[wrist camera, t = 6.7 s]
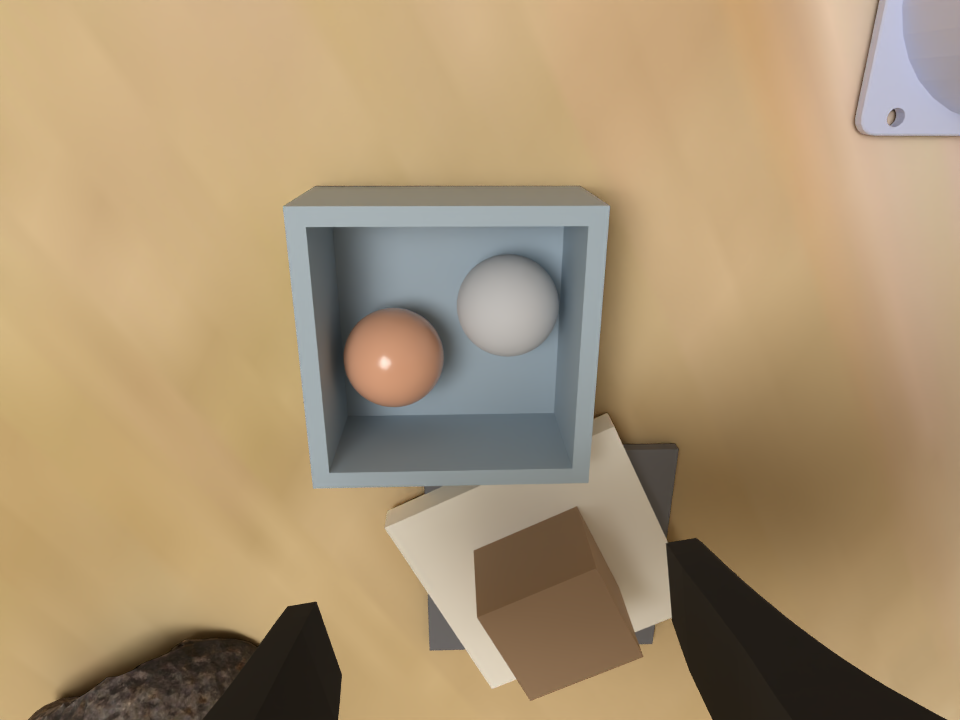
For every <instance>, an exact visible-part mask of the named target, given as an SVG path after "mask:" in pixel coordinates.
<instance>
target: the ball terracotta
mask: <svg viewBox="0 0 960 720" xmlns="http://www.w3.org/2000/svg"><path fill="white" fill-rule="evenodd" d="M343 360H344V367H345V371H346V375H347V377H348V379H349V381H350V383H351V384H352V386H353V387H354V389H355V390H356V391H357V392H358V393H359V394H360V395H361V396H363V397H364V398H365V399H367V400H369V401H370V402H372V403H375V404H377V405H381V406H385V407H402V406H407V405H410V404H413V403H415V402H417V401H419V400H421V399H422V398H424V397H425V396H426V395H427V394H428V393H429V392H430V391H431V390H432V389H433V388H434V386H435V385H436V384H437V382H438V380H439V378H440V376H441V373H442V369H443V364H444V351H443V346H442V342H441V339H440V337H439V335H438V333H437V331H436V330H435V329H434V327H433V326H432V325H431V324H430V323H429V322H428V321H427V320H426V319H425V318H424V317H422V316H421V315H419V314H417V313H415V312H413V311H410V310H407V309H402V308H385V309H380V310H377V311H374V312H372V313H370V314H368V315H367V316H365V317H364V318H362V319H361V320H360V321H359V322H358V323H357V324H356V325H355V326H354V328H353V329H352V331H351V332H350V334H349V336H348V338H347V340H346V344H345V347H344V354H343Z"/></svg>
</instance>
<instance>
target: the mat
mask: <svg viewBox="0 0 960 720" xmlns="http://www.w3.org/2000/svg"><path fill="white" fill-rule="evenodd" d="M623 447H624V449H625V451H626V453H627V455H628V457H629V459H630V462H631V464H632V466H633V468H634V470H635V472H636V475H637V477H638V479H639V481H640V483H641V485H642V488H643V490H644V492H645V494H646V496H647V498H648V500H649V503H650V505H651V507H652V509H653V511H654V513H655V516H656V518H657V520H658V522H659V524H660V526H661V529H662V531H663V533H664V535H665V537H666V539H667V532H668V524H669V517H670V510H671V502H672V495H673V487H674V480H675V473H676V465H677V458H678V451H679V449H678V447H677V446H676V444H623ZM440 487H442V486H424V489H425V494H426V493H429V492H431V491H433V490H435V489H438V488H440ZM428 613H429V644H430V650H463V649H465V648H464V646H463V645H462V643H461V642H460V640H459V639H458V637H457V636H456V634H455V633H454V631H453V630H452V628H451V627H450V625H449V624H448V622H447V621H446V619H445V618H444V616H443V615H442V613H441V612H440V610H439V609H438V607H437V606H436V604H435V603H434V601H433V600H432V598H431V597H430V595H429V594H428ZM654 627H655V625H652V626H650V627H647V628H645V629H642V630H640V631H637V632H635V635H636V638H637V640H638V643H639V644H652V642H653V635H654Z"/></svg>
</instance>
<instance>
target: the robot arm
mask: <svg viewBox="0 0 960 720" xmlns="http://www.w3.org/2000/svg"><path fill="white" fill-rule="evenodd" d="M893 109H894V110H895V111H896V119H895V121H894V122H893V123H892V124H891V125H890V126H889V125H888V123H887V116H888V114H889V112H890V111H891V110H893ZM855 125H856V127H857V130H858V131H859V132H861V133H862V134H865V135H873V136H960V0H879V5H878V10H877V15H876V19H875V24H874V29H873V34H872V39H871V44H870V48H869V53H868V58H867V63H866V68H865V73H864V78H863V82H862V87H861V92H860V97H859V102H858V107H857V111H856V116H855ZM666 552H667V564H668V577H669V589H670V602H671V614H672V622H673V625H674V628H675V631H676V634H677V637H678V640H679V643H680V646H681V649H682V651H683V654H684V657H685V660H686V663H687V665H688V668H689V671H690V673H691V675H692V677H693V679H694V682H695V684H696V686H697V688H698V690H699V692H700V694H701V696H702V698H703V701H704V703H705V705H706V707H707V709H708V711H709V713H710V715H711V717H712V720H947V719H945V718H943V717H941V716H939V715H937V714H935V713H933V712H932V711H930V710H928V709H926V708H924V707H923V706H921V705H919V704H917V703H915V702H914V701H912V700H910V699H908V698H906V697H905V696H903V695H901V694H899V693H897V692H895V691H894V690H892V689H890V688H888V687H887V686H885V685H883V684H882V683H880V682H878V681H877V680H875V679H874V678H872V677H870V676H869V675H867V674H866V673H864V672H862V671H861V670H859V669H858V668H856V667H855V666H853V665H852V664H850V663H849V662H847V661H846V660H844V659H843V658H841V657H840V656H838V655H837V654H835V653H834V652H832V651H831V650H830V649H828V648H827V647H825V646H824V645H823V644H821V643H820V642H818V641H817V640H816V639H814V638H813V637H812V636H810V635H809V634H808V633H806V632H805V631H804V630H802V629H801V628H800V627H798V626H797V625H796V624H794V623H793V622H792V621H791V620H789V619H788V618H787V617H786V616H784V615H783V614H782V613H781V612H779V611H778V610H777V609H776V608H775V607H773V606H772V605H771V604H770V603H769V602H767V601H766V600H765V599H764V598H763V597H761V596H760V595H759V594H758V593H757V592H755V591H754V590H753V589H752V588H751V587H750V586H748V585H747V584H746V583H745V582H744V581H743V580H742V579H741V578H739V577H738V576H737V575H736V574H735V573H734V572H733V571H732V570H731V569H729V568H728V567H727V566H726V565H725V564H724V563H723V562H722V561H721V560H720V559H719V558H718V557H717V556H716V555H715V554H714V553H712V552H711V551H710V550H709V549H708V548H707V547H706V546H705V545H704V544H703V543H702V542H701V541H699V540H698V539H697V538H693V539H687V540H681V541H675V542H669V543H666ZM341 679H342V674H341V671H340V668H339V665H338V662H337V659H336V657H335V654H334V651H333V648H332V645H331V642H330V639H329V636H328V634H327V631H326V628H325V625H324V622H323V619H322V616H321V613H320V611H319V608H318V605H317V602H311V603H305V604H299V605H293V606H288V607H287V608H286V609H285V611H284V612H283V613H282V615H281V616H280V617H279V619H278V620H277V621H276V623H275V624H274V625H273V627H272V628H271V629H270V631H269V632H268V634H267V635H266V636H265V638H264V639H263V640H262V642H261V643H260V645H259V646H258V647H257V649H256V650H255V652H254V653H253V654H252V656H251V657H250V658H249V660H248V661H247V663H246V664H245V665H244V667H243V668H242V669H241V671H240V672H239V673H238V675H237V676H236V677H235V679H234V680H233V681H232V683H231V684H230V685H229V686H228V688H227V689H226V690H225V692H224V693H223V694H222V696H221V697H220V698H219V700H218V701H217V702H216V703H215V705H214V706H213V707H212V708H211V709H210V711H209V712H208V713H207V714H206V716H205V717H204V718H203V719H202V720H338V714H339V704H340V692H341Z"/></svg>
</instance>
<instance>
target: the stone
mask: <svg viewBox="0 0 960 720" xmlns="http://www.w3.org/2000/svg"><path fill="white" fill-rule="evenodd" d="M256 649H257V647H256V646H254V645H253V644H251V643H250V642H248V641H242V640H237V639H221V638H213V639H201V640H184V641H183V642H181V643H179V644H178V645H177V646H175V647H174V648H173V649H172V650H171V651H170V652H169V653H168V654H165V655H163V656H161V657H158V658H156V659H153V660H150V661H148V662H145V663H143V664H141V665H139V666H137V667H136V668H135V669H134V670H132V671H130V672H127V673H125V674H123V675H120V676H117V677H107V678H106V679H105V680H103V681H102V682H101V683H100V684H98V685H97V686H96V687H94V688H93V689H91V690H90V691H89V692H87V693H86V694H84V695H83V696H81V697H67V698H62V699H59V700H57V701H55V702H52V703H50V704H48V705H45V706H43V707H42V708H41V709H39V710H38V711H36V712H35V713H34V714H33V715H32V716H31V717H30V718H29V719H28V720H202V719H203V718H204V717H205V716H206V714H207V713H208V712H209V711H210V709H211V708H212V707H213V706H214V705H215V703H216V702H217V701H218V700H219V698H220V697H221V696H222V694H223V693H224V692H225V690H226V689H227V688H228V686H229V685H230V684H231V683H232V681H233V680H234V679H235V677H236V676H237V675H238V673H239V672H240V671H241V669H242V668H243V667H244V665H245V664H246V663H247V661H248V660H249V658H250V657H251V656H252V654H253V653H254V652H255V650H256Z"/></svg>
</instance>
